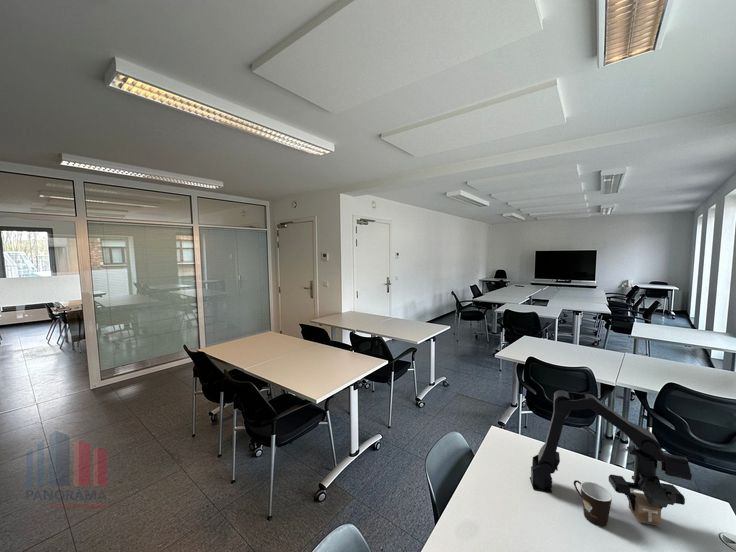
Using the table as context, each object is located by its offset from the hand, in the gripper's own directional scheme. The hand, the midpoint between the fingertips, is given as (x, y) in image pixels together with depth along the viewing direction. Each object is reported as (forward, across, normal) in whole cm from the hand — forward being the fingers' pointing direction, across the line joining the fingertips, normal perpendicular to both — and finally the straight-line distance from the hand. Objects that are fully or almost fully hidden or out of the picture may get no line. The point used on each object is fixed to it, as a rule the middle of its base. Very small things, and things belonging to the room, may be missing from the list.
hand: (644, 512), depth 100 cm
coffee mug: (+3, -16, -3) cm, 16 cm away
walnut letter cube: (+2, 0, 0) cm, 2 cm away
